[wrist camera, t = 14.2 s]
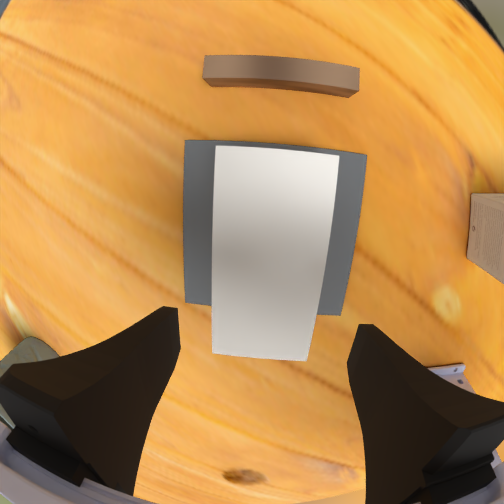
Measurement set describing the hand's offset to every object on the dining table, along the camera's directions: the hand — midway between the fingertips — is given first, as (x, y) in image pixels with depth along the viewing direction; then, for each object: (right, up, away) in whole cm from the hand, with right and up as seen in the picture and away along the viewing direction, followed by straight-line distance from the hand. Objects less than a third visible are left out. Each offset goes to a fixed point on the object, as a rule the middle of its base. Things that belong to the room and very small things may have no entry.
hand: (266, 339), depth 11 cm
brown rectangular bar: (+1, +15, +5) cm, 15 cm away
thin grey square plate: (+1, +5, +9) cm, 10 cm away
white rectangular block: (+1, +4, +9) cm, 10 cm away
